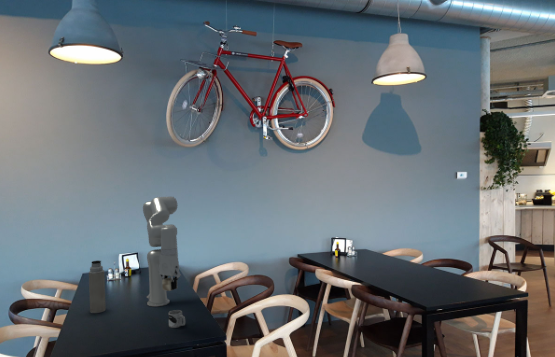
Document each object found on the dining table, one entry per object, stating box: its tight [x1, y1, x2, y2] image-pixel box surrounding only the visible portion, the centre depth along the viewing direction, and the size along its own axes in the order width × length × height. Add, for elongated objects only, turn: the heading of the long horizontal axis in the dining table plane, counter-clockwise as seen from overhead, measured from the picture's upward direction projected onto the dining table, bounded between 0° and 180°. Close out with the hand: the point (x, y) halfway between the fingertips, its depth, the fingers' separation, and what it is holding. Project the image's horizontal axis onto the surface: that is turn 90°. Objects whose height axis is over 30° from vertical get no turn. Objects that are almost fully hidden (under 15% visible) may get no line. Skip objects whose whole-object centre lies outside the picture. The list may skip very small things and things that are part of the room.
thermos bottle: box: [88, 260, 107, 314], centre depth 239 cm, size 8×8×28 cm
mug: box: [168, 309, 186, 329], centre depth 213 cm, size 10×7×7 cm
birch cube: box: [162, 276, 172, 292], centre depth 212 cm, size 5×5×5 cm
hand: (170, 287), depth 212 cm, fingers closed on birch cube, 5 cm apart
